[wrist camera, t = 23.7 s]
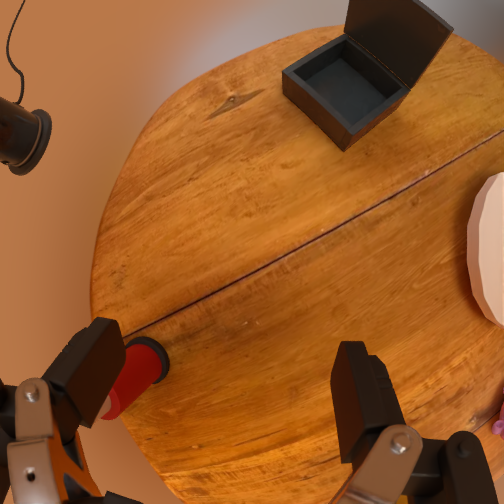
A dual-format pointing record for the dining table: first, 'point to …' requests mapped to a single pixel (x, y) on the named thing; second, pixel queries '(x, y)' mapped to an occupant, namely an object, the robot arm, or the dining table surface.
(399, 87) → the box
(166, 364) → the black coaster
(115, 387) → the sauce bottle
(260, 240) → the dining table surface
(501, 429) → the teapot
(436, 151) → the dining table surface
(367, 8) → the box lid
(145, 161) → the dining table surface
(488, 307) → the candle holder
